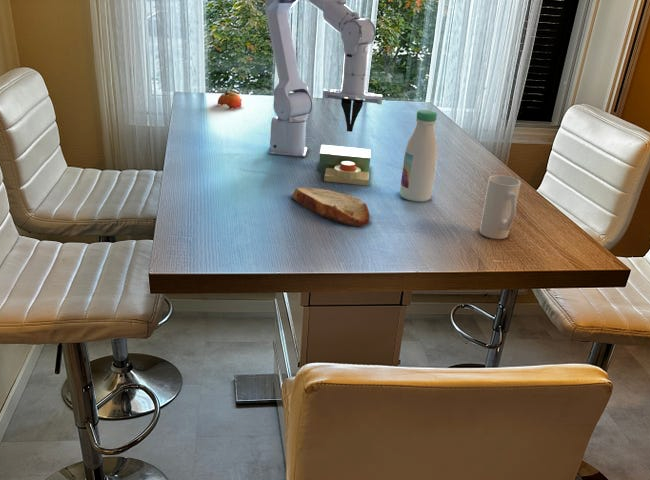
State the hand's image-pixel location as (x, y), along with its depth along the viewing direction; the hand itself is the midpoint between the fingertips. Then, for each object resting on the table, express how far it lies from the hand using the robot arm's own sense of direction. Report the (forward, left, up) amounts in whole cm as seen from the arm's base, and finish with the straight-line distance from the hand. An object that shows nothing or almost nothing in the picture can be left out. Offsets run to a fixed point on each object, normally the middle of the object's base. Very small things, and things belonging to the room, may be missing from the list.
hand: (349, 130), depth 177 cm
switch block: (0, -7, -10) cm, 12 cm away
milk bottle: (+17, -15, -11) cm, 25 cm away
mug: (+34, -36, -11) cm, 51 cm away
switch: (0, -8, -8) cm, 11 cm away
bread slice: (-3, -30, -11) cm, 32 cm away
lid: (-1, +1, -6) cm, 6 cm away
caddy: (-1, +1, -10) cm, 10 cm away
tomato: (-41, +56, -11) cm, 70 cm away
